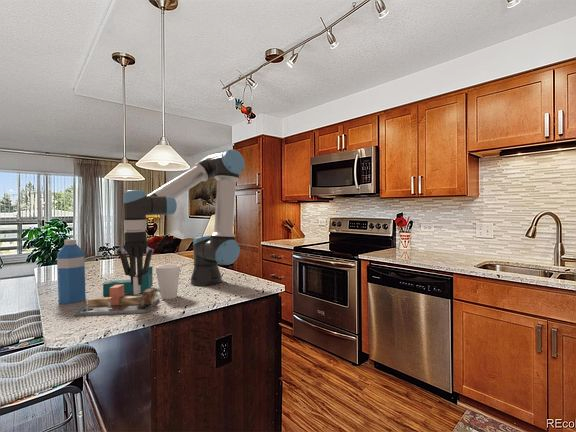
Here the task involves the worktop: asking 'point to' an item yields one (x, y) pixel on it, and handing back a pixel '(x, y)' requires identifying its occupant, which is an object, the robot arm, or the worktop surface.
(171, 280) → the foam cup
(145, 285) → the teal l-shaped bracket
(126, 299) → the beam gauge
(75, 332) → the worktop surface
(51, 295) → the worktop surface
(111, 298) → the sliding jaw
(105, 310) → the bolt plate
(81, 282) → the water bottle
